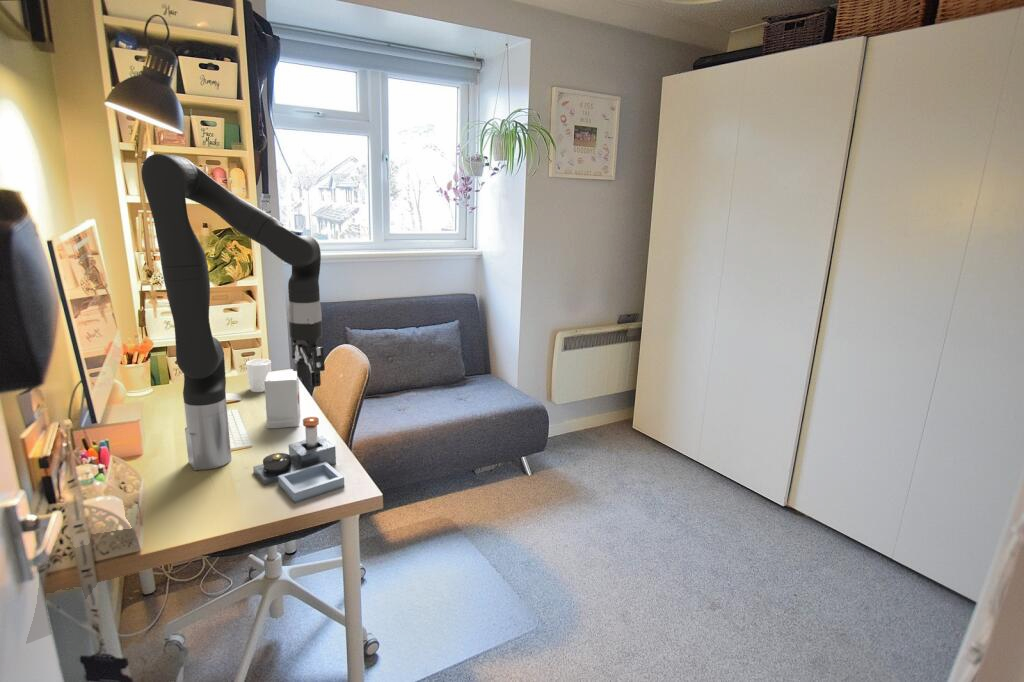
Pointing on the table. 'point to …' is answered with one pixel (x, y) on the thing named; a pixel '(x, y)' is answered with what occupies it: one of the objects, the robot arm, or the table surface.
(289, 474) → the parts tray
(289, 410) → the supplement box
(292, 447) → the block
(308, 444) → the pin
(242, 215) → the robot arm
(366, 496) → the table surface
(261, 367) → the white cup
